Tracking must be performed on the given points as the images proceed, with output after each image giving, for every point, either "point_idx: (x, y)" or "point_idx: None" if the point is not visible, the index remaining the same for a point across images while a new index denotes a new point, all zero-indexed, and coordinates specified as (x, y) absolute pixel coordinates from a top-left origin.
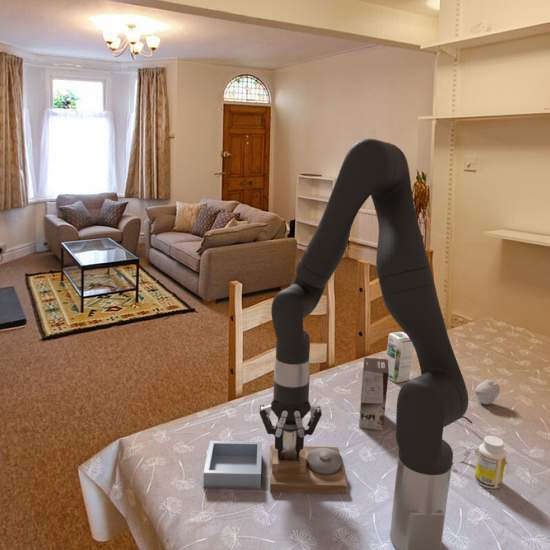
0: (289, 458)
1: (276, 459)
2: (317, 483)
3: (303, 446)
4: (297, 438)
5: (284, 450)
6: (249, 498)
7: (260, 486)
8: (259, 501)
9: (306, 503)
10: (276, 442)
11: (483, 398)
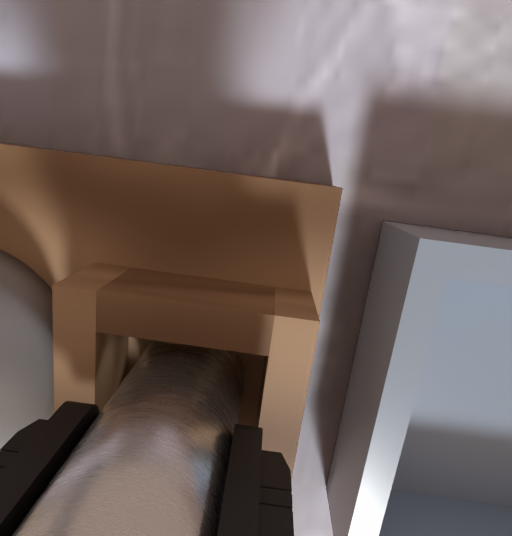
0: (175, 361)
1: (279, 367)
2: (25, 163)
3: (10, 440)
4: (14, 531)
5: (203, 419)
6: (466, 141)
7: (388, 224)
8: (411, 106)
9: (131, 61)
10: (276, 512)
11: None
